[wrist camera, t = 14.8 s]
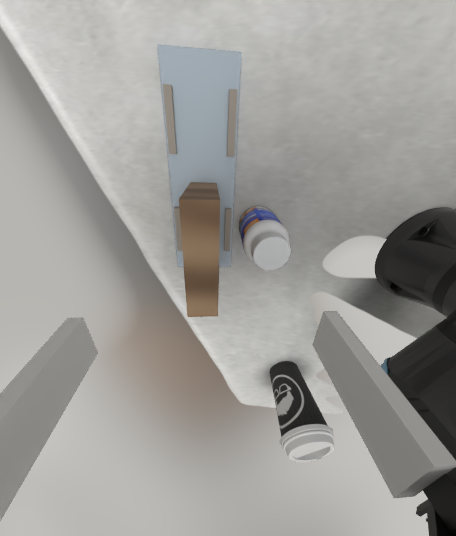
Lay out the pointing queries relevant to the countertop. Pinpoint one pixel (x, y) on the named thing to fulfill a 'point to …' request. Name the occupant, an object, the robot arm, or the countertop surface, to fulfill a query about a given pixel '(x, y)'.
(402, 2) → the countertop surface
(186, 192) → the frame
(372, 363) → the robot arm
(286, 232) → the pill bottle
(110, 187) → the countertop surface
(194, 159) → the ledge
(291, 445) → the coffee cup
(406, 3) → the countertop surface
